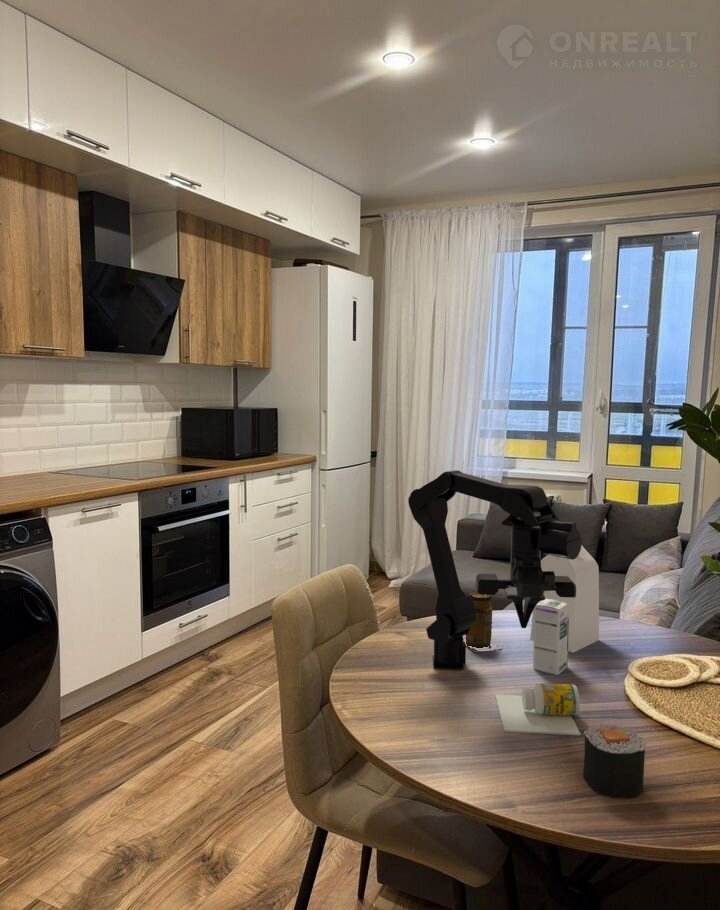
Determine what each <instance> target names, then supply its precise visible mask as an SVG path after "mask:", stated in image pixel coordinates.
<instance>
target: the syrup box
mask: <svg viewBox="0 0 720 910" xmlns="http://www.w3.org/2000/svg"><path fill="white" fill-rule="evenodd" d="M568 631H569V603H566V602H563V601H559V600H552V599H545V600H543V601H541V602H539V603H537V604H536V606H535V608H534V640H533V651H532V652H533V660H532V661H533V663H532V668H533V669H534V670H535V671H536V670H537V671H540V672H542V673H547V674H550V675H555V676H559V675H560V674H561V673H562V672H563V671H564V670H566V669H567V668H568V667H569V651H568Z"/></svg>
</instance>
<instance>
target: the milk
mask: <svg viewBox="0 0 720 910" xmlns="http://www.w3.org/2000/svg"><path fill="white" fill-rule="evenodd" d="M541 568H542V571H553V572H554V574H555V576H568V577H569V578H570V579H571V580H572V581H573V582H574V584H575V585H576V597H574V598H571V597H559V596H558V595H557V593H556V592H555V591H545V593H544V596H545V599H552V600H559V601H563V602H566V603H569V631H568V652H569V653H576V652H578V651H579V650H582V649H583V648H586V647H588V646H590V645H591V644H594V643H596V642H598V641H599V640H600V608H599V607H600V602H599V601H600V599H599V598H600V584H599V583H600V581H599V580H600V574H599V573H600V572H599V571H600V570H599V569H600V568H599V565H598V562H597V560H595V558H594V557H593V556H592V555H591V554H590V553H589V552H588V551H587V549H586V548H584V546H583V545H581V550H580V553H579V555H578V556H577V558H575V559H574V560H572V559H567V558H561V557H556V556H551V555H546V556H544V557H543V558H541ZM541 601H543V600H541ZM541 601H539V602H541ZM539 602H538V603H539ZM529 639H530V640H532V639H533V640H532V641H534V610H533V612H532V614H531V627H530V636H529Z"/></svg>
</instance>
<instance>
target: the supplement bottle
mask: <svg viewBox="0 0 720 910" xmlns="http://www.w3.org/2000/svg"><path fill="white" fill-rule="evenodd" d="M521 696H522V704H523V708H524V710H529V711H531V710H532V709H535V711H536V712H537V713H538V714H541V715H571V716H577V715H578V714H579V711H580V708H581V703H580V700H581V699H580V693H579V690H578V687H577V685H575V684H571V683H569V684H564V683H563V684H562V683H560V684H559V683H537V684H535V685H534V686H533V688H532V687H530V686H529V687H522V689H521Z"/></svg>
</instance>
